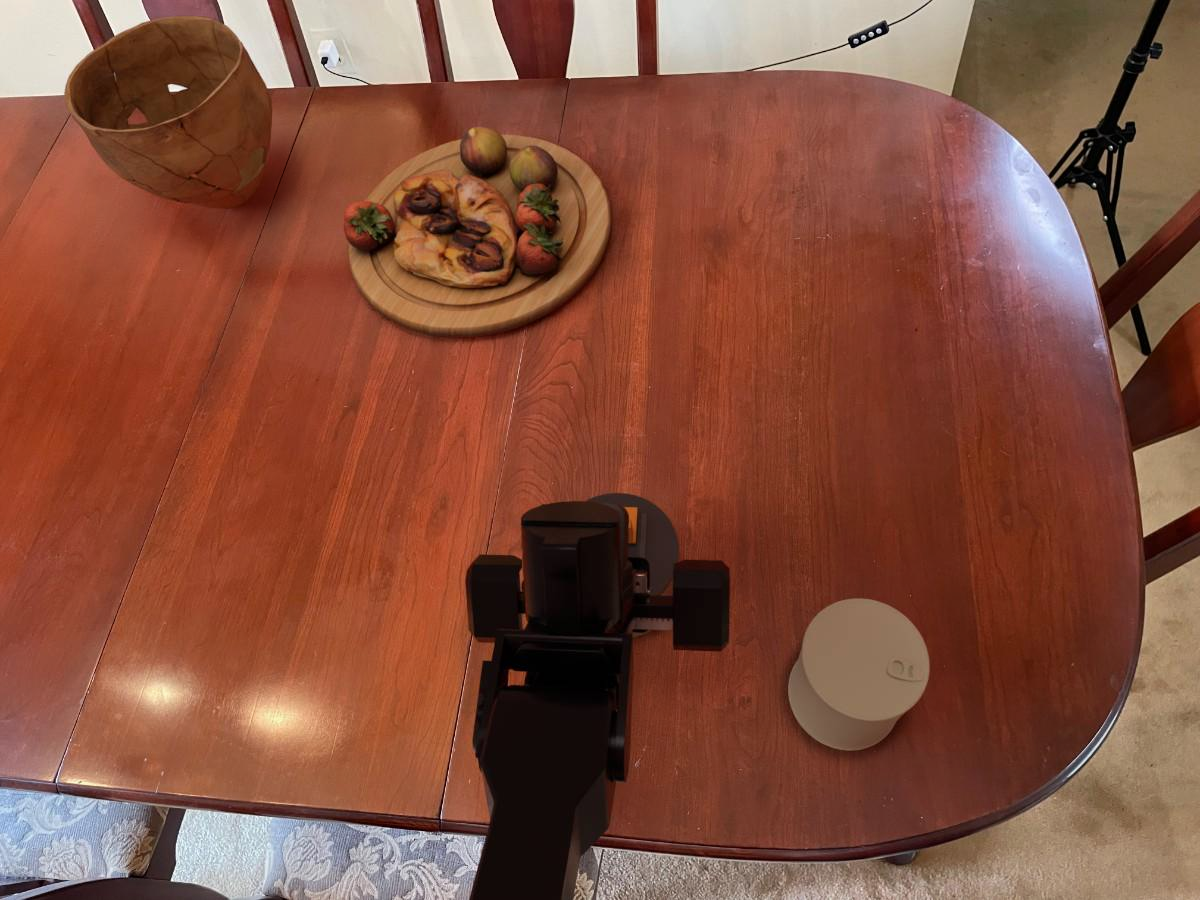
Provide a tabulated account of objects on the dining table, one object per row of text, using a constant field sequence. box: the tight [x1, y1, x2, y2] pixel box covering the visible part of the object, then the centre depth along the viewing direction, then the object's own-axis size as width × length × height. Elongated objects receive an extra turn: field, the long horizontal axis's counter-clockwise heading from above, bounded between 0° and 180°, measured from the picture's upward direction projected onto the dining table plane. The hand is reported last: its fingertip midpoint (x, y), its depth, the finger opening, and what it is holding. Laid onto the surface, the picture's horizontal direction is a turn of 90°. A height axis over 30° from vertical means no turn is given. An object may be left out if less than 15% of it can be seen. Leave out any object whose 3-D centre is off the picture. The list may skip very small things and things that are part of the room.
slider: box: [624, 507, 638, 543], centre depth 71 cm, size 3×4×3 cm
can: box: [787, 597, 931, 752], centre depth 67 cm, size 9×9×12 cm
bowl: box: [63, 15, 273, 210], centre depth 102 cm, size 21×20×20 cm
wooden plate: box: [343, 125, 613, 339], centre depth 99 cm, size 32×32×8 cm
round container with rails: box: [585, 492, 680, 639], centre depth 75 cm, size 11×11×9 cm
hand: (610, 557), depth 69 cm, fingers closed
